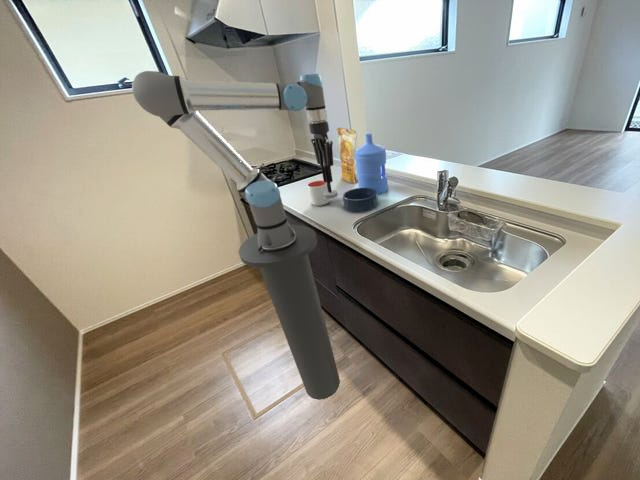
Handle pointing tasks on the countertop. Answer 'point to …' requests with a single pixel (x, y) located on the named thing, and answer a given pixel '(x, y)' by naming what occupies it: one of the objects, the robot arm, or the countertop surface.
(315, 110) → the robot arm
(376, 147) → the water jug
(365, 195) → the bowl
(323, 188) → the cup
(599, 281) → the countertop surface
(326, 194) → the rod stand
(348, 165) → the pancake mix bag
